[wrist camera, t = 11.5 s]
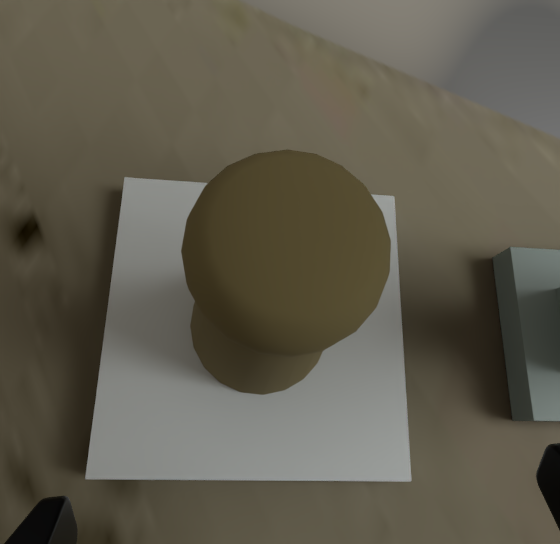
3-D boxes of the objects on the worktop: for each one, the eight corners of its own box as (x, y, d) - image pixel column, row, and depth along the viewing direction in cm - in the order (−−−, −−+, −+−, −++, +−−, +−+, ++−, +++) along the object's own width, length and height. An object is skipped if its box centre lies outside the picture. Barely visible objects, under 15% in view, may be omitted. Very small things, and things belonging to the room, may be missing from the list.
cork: (172, 282, 21) (120, 145, 10) (298, 242, 22) (364, 83, 12) (216, 416, 19) (207, 411, 9) (348, 364, 21) (475, 308, 10)
